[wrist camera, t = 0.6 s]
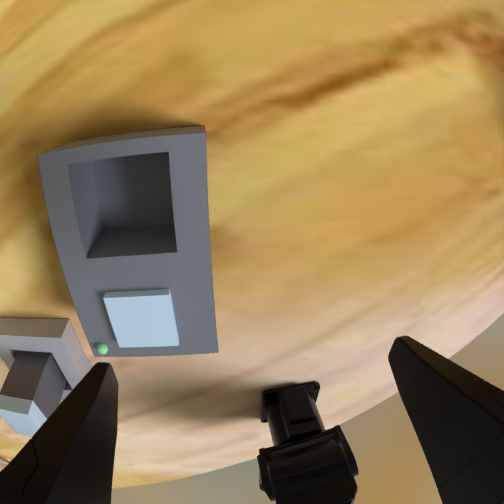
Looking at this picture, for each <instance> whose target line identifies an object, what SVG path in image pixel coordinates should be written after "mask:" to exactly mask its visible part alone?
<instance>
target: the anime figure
mask: <svg viewBox="0 0 504 504" xmlns="http://www.w3.org/2000/svg"><path fill="white" fill-rule="evenodd" d="M1 463H2V464H1ZM8 464H9V462H7V461H5V460H3V459H1V458H0V467H1V468H2V469H4V468H5V467H6V466H7V465H8Z"/></svg>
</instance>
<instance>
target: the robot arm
mask: <svg viewBox="0 0 504 504" xmlns="http://www.w3.org/2000/svg"><path fill="white" fill-rule="evenodd" d="M388 360H389V363H390V366H391V369H392V372H393V375H394V378H395V381H396V384H397V387H398V391H399V393H400V396H401V398H402V401H403V404H404V406H405V408H406V410H407V413H408V415H409V417H410V420H411V422H412V424H413V427H414V429H415V431H416V434H417V436H418V439H419V441H420V444H421V446H422V449H423V451H424V454H425V456H426V459H427V461H428V464H429V466H430V469H431V472H432V475H433V477H434V480H435V483H436V486H437V488H438V492H439V494H440V497H441V500H442V503H443V504H504V391H503V390H501V389H499V388H497V387H496V386H494V385H492V384H490V383H488V382H487V381H484V380H483V379H482V378H480V377H478V376H476V375H475V374H473V373H471V372H470V371H468V370H466V369H464V368H463V367H461V366H459V365H457V364H456V363H454V362H452V361H451V360H449V359H447V358H445V357H444V356H442V355H440V354H438V353H437V352H435V351H433V350H431V349H430V348H428V347H426V346H424V345H423V344H421V343H419V342H418V341H416V340H414V339H412V338H411V337H409V336H401V337H397V338H396V339H395V340H394V343H393V345H392V348H391V350H390V352H389V355H388ZM319 389H320V384H319V383H318V382H315V383H310V384H304V385H298V386H292V387H286V388H279V389H272V390H266V391H263V392H262V402H261V422H263V423H266V422H268V424H269V428H270V432H271V436H272V440H273V444H274V446H272V447H269V448H261V449H259V453H260V455H258V456H257V459H258V464H259V471H260V473H259V486H260V489H261V490H262V491H264V492H266V494H267V495H268V497H269V499H270V500H271V501H274V500H275V501H276V504H353V503H354V500H355V496H356V493H357V484H356V482H355V479H354V476H357V475H358V474H359V473H358V467H357V464H356V461H355V458H354V455H353V453H352V451H351V449H350V446H349V444H348V442H347V440H346V438H345V436H344V434H343V432H342V430H341V428H340V426H339V425H337V426H334V428H331V429H328V430H325V428H324V425H323V422H322V420H321V417H320V414H319V411H318V409H317V406H316V400H317V397H318V393H319ZM117 415H118V381H117V378H116V376H115V373H114V371H113V368H112V366H111V364H110V363H105V362H98V363H96V364H95V365H94V366H93V367H92V368H91V369H90V371H89V372H88V373H87V374H86V375H85V376H84V377H83V378H82V380H81V381H80V382H79V383H78V384H77V385H76V386H75V387H74V389H73V390H72V391H71V392H70V393H69V394H68V395H67V397H66V398H65V399H64V400H63V401H62V402H61V403H60V405H59V406H58V407H57V408H56V409H55V410H54V412H53V413H52V414H51V415H50V416H49V417H48V419H47V420H46V421H45V422H44V423H43V424H42V426H41V427H40V428H39V429H38V430H37V432H36V433H35V434H34V435H33V436H32V439H30V440H29V441H28V442H27V443H26V445H25V446H24V447H23V448H22V449H21V451H20V452H19V453H18V454H17V455H16V456H15V457H14V458H13V459H12V460H11V462H10V463H9V464H8V465H7V466H6V467H5V468H4V469H3V470H2V471H1V472H0V504H111V491H112V477H113V466H114V456H115V446H116V438H117Z"/></svg>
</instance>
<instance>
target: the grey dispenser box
mask: <svg viewBox="0 0 504 504" xmlns="http://www.w3.org/2000/svg"><path fill="white" fill-rule="evenodd" d="M38 161H39V168H40V174H41V181H42V187H43V192H44V197H45V203H46V208H47V212H48V217H49V221H50V226H51V230H52V234H53V238H54V242H55V246H56V249H57V253H58V257H59V260H60V264H61V267H62V270H63V274H64V277H65V280H66V283H67V286H68V289H69V292H70V295H71V298H72V301H73V304H74V306H75V309H76V312H77V315H78V317H79V320H80V322H81V325H82V328H83V330H84V333H85V335H86V337H87V340H88V342H89V345H90V347H91V349H92V352H93V354H94V356H96V357H136V356H169V355H189V354H204V353H218V342H217V330H216V319H215V306H214V293H213V279H212V264H211V248H210V230H209V210H208V187H207V158H206V131H205V126H193V127H179V128H166V129H156V130H146V131H137V132H129V133H121V134H114V135H107V136H101V137H94V138H88V139H83V140H77V141H72V142H69V143H67V144H64V145H62V146H59V147H57V148H54V149H52V150H49V151H47V152H44V153H42V154H40V155H38Z"/></svg>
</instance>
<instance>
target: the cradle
mask: <svg viewBox="0 0 504 504" xmlns="http://www.w3.org/2000/svg"><path fill="white" fill-rule="evenodd" d="M19 350H22V351H35V352H51V353H52V354H53V356H54V358H55V360H56V361H57V363H58V365H59V367H60V369H61V370H62V372H63V374H64V376H65V377H66V379H67V381H66V384H65V387H64V390H63V394H62V397H61V400H64V399H65V398H66V397H67V395H68V394H69V393H70V392H71V391H72V390H73V389H74V387H75V386H76V385H77V384H78V383H79V382H80V381H81V380H82V378H83V377H84V376H85V375H86V374H87V373H88V372H89V371H90V369H91V367H90V365H89V363H88V361H87V358H86V356H85V354H84V352H83V350H82V348H81V345H80V343H79V341H78V338H77V336H76V334H75V331H74V329H73V327H72V324H71V322H70V319H25V318H0V355H1V357H2V358H3V360H4V361H5V363H6V365H7V366H8V368H9V369H10V368H11V366H12V364H13V362H14V360H15V358H16V356H17V354H18V352H19Z"/></svg>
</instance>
